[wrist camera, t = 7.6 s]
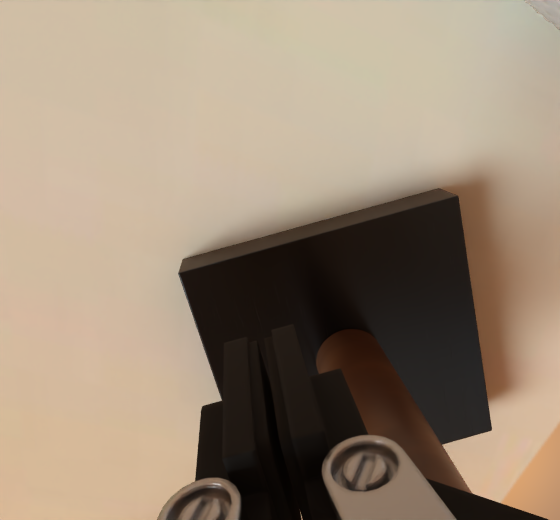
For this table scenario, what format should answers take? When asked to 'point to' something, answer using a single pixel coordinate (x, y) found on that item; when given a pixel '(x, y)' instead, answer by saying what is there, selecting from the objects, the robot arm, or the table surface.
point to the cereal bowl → (547, 10)
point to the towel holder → (363, 317)
